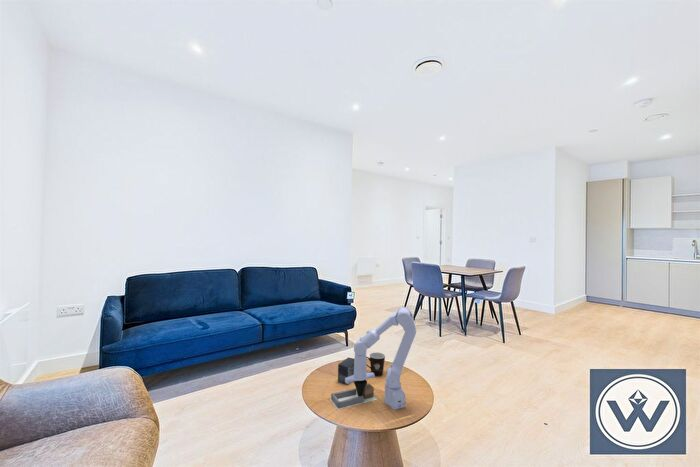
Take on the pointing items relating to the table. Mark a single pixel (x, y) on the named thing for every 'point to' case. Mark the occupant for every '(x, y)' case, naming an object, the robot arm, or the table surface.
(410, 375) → the table surface
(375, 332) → the robot arm
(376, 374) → the coffee mug
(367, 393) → the walnut cube
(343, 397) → the bay board
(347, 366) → the small box
